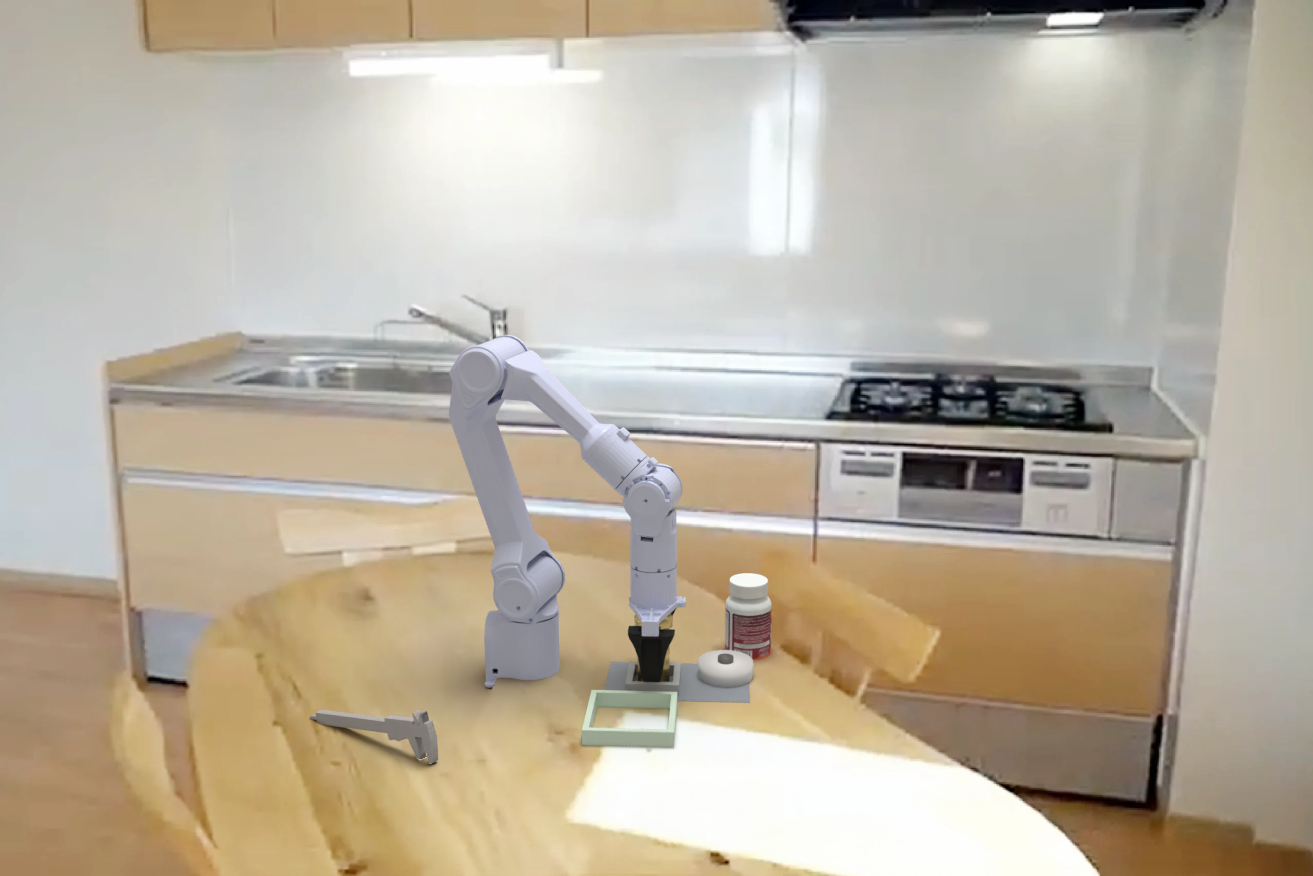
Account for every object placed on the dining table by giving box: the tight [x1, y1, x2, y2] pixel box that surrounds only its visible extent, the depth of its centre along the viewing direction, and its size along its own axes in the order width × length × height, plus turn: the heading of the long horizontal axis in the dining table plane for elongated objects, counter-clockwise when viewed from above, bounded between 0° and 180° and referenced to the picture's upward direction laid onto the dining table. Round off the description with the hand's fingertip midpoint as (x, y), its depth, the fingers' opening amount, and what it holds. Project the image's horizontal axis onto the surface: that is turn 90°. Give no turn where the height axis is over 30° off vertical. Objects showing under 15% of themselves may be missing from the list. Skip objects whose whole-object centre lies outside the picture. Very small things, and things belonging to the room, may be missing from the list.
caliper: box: [308, 709, 439, 765], centre depth 142 cm, size 20×1×6 cm, turn 56°
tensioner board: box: [604, 649, 754, 704], centre depth 155 cm, size 18×11×4 cm, turn 87°
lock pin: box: [633, 614, 674, 682], centre depth 153 cm, size 5×5×9 cm
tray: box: [581, 689, 678, 749], centre depth 144 cm, size 10×10×3 cm
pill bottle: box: [724, 572, 773, 661], centre depth 163 cm, size 6×6×11 cm
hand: (653, 668), depth 154 cm, fingers open, 7 cm apart
